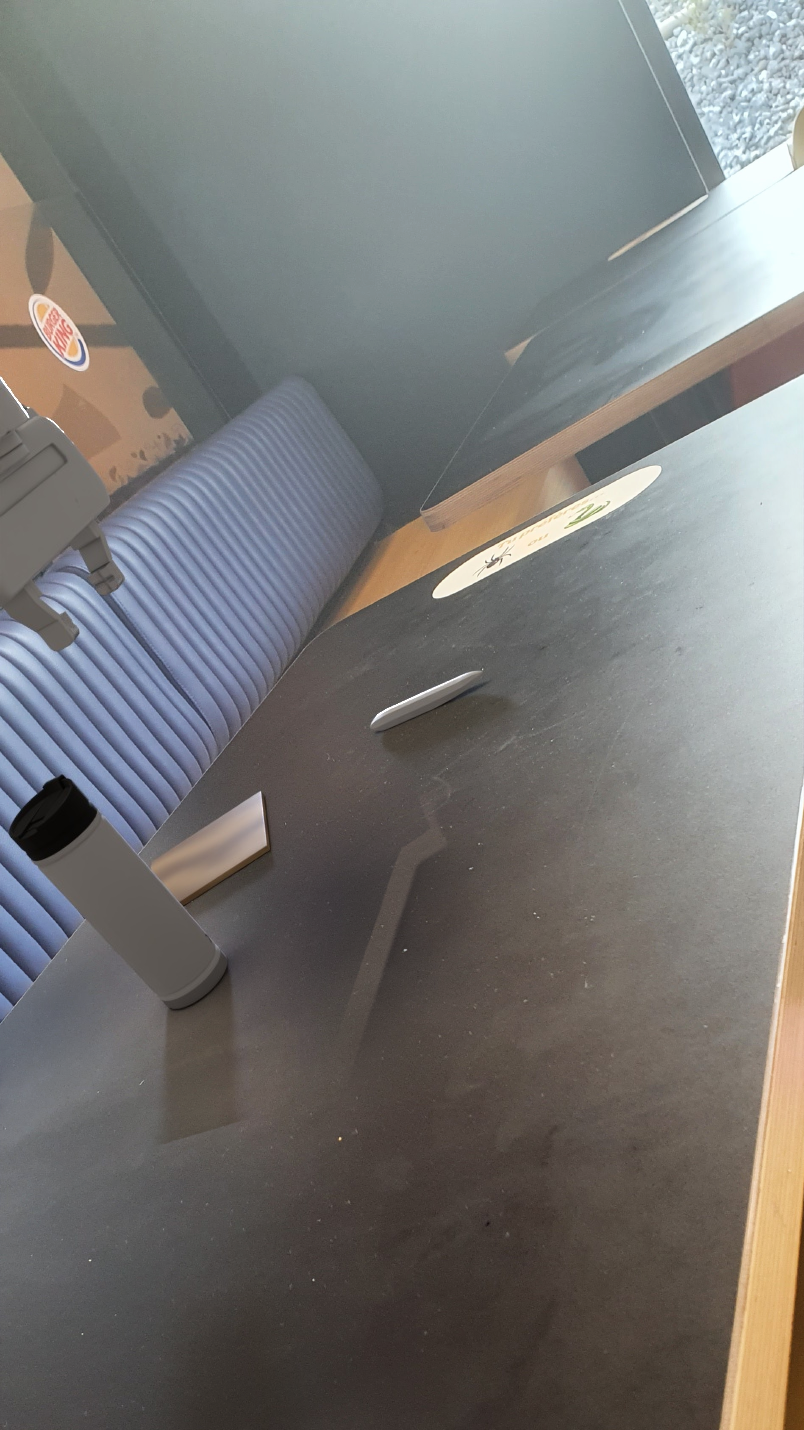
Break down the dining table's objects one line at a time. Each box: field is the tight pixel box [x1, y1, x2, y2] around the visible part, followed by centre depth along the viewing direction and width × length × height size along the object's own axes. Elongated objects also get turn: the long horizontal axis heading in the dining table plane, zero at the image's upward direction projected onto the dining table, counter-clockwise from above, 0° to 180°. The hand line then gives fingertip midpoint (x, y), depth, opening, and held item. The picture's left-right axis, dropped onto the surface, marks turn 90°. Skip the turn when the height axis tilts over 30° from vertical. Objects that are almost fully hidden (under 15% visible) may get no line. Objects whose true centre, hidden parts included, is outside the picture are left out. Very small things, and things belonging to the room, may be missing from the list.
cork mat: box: [150, 790, 271, 907], centre depth 116 cm, size 14×14×1 cm
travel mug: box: [8, 773, 228, 1010], centre depth 91 cm, size 6×7×20 cm
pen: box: [369, 670, 484, 732], centre depth 116 cm, size 2×14×2 cm, turn 79°
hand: (92, 615), depth 80 cm, fingers open, 8 cm apart
